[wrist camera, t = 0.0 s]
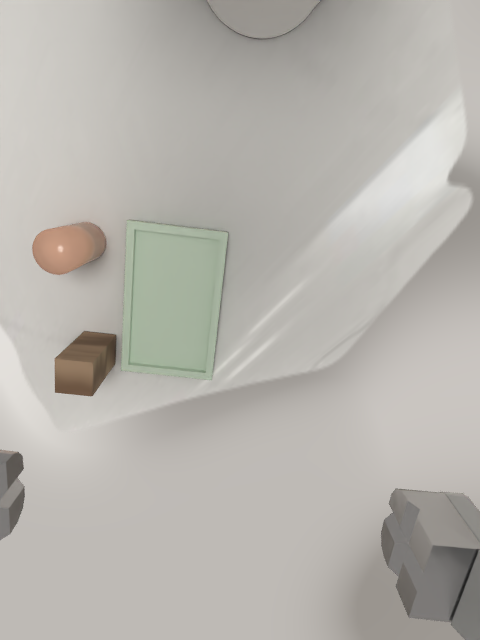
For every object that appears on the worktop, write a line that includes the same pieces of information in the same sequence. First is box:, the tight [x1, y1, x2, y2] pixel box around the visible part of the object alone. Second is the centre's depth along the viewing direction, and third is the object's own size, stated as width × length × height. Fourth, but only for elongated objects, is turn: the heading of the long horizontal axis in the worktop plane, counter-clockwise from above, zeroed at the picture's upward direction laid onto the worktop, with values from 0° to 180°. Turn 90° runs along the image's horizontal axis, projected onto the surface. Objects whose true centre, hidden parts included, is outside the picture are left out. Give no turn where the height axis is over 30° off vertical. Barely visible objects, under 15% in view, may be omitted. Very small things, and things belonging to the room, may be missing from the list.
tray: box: [121, 220, 228, 380], centre depth 56 cm, size 21×13×2 cm, turn 173°
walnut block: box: [55, 331, 116, 396], centre depth 54 cm, size 4×4×10 cm
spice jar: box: [32, 222, 106, 275], centre depth 50 cm, size 5×5×10 cm
